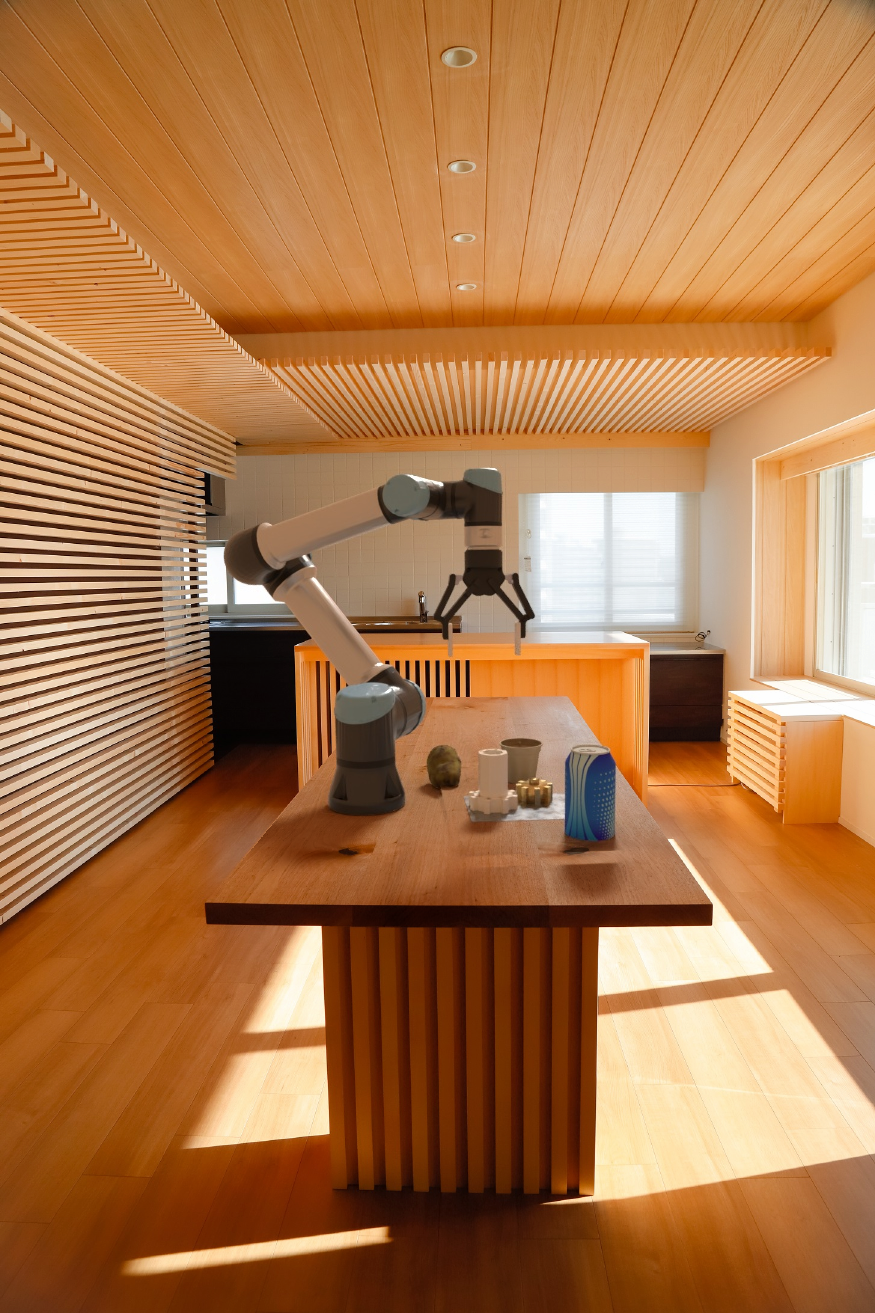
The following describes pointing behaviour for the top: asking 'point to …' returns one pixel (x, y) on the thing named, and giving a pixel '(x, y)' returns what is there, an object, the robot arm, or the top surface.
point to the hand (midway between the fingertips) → (484, 655)
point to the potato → (444, 767)
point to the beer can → (590, 793)
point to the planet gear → (493, 784)
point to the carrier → (528, 804)
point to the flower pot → (521, 758)
